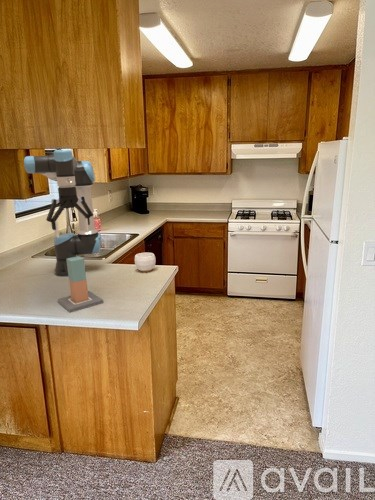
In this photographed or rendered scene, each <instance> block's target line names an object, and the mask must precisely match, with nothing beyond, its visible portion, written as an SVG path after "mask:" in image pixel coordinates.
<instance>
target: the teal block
mask: <svg viewBox="0 0 375 500" xmlns="http://www.w3.org/2000/svg"><path fill="white" fill-rule="evenodd" d="M66 260H67V268H68V276H67V277H68V281H69V280H71V281H72V282H78V281H82V280H87V274H86V264H85V258H84V257H82V256H81V255H77V257H72V258H67V259H66Z"/></svg>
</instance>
